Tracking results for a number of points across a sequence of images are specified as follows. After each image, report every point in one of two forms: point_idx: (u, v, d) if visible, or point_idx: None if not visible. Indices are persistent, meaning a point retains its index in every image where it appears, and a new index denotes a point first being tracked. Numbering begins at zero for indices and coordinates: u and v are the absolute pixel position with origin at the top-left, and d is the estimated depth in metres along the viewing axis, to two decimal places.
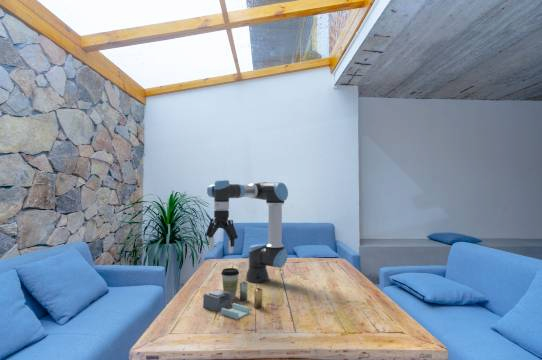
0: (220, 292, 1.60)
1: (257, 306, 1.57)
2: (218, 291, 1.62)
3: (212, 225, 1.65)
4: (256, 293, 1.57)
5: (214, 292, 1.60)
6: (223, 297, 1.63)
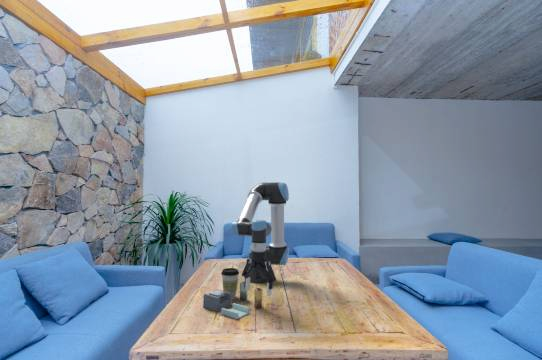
0: (220, 292, 1.60)
1: (257, 306, 1.57)
2: (218, 291, 1.62)
3: (248, 265, 1.63)
4: (256, 293, 1.57)
5: (214, 292, 1.60)
6: (223, 297, 1.63)
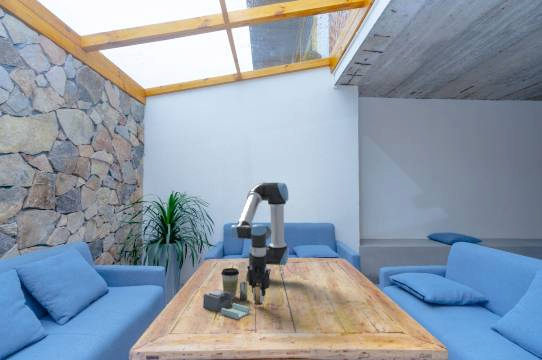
0: (220, 292, 1.60)
1: (257, 302, 1.58)
2: (218, 291, 1.62)
3: (251, 272, 1.62)
4: (256, 289, 1.58)
5: (214, 292, 1.60)
6: (223, 297, 1.63)
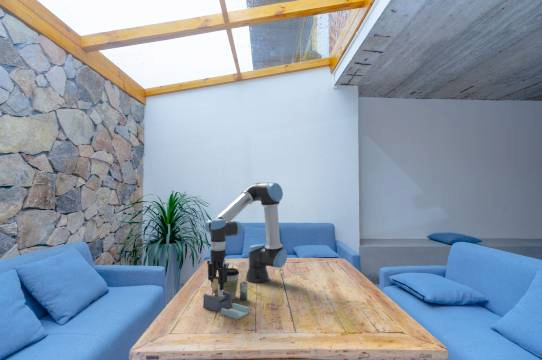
0: None
1: (215, 294, 1.58)
2: None
3: (211, 267, 1.63)
4: (214, 281, 1.59)
5: None
6: None
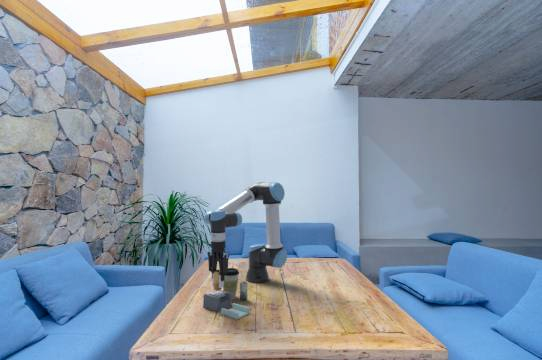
0: (220, 293, 1.60)
1: (216, 287, 1.58)
2: (218, 292, 1.62)
3: (211, 258, 1.64)
4: (215, 274, 1.59)
5: (214, 293, 1.60)
6: (223, 297, 1.63)
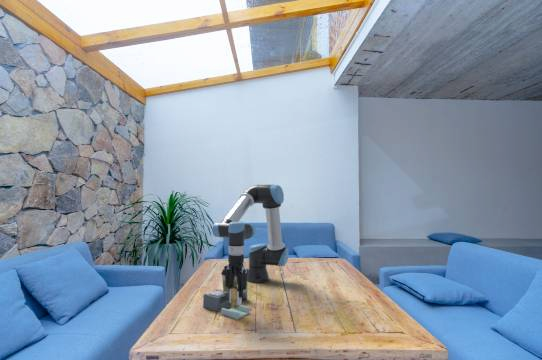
0: (220, 293, 1.60)
1: (233, 305, 1.48)
2: (218, 292, 1.62)
3: (228, 272, 1.54)
4: (232, 291, 1.49)
5: (214, 293, 1.60)
6: (223, 297, 1.63)
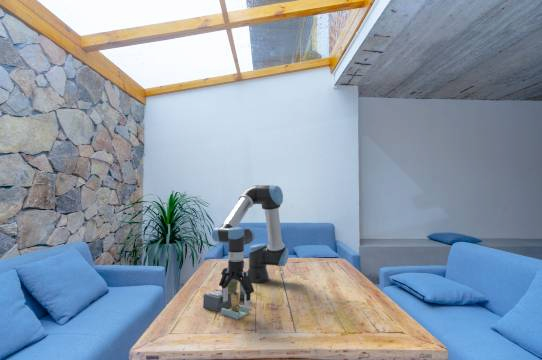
0: (220, 293, 1.60)
1: None
2: (218, 292, 1.62)
3: (226, 275, 1.55)
4: (232, 298, 1.49)
5: (214, 293, 1.60)
6: None
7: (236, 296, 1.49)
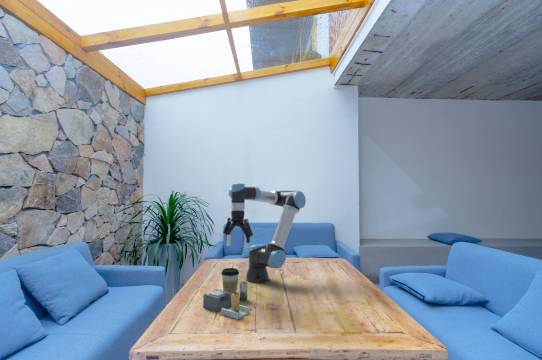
0: (220, 293, 1.60)
1: None
2: (218, 292, 1.62)
3: (229, 224, 1.84)
4: (232, 298, 1.49)
5: (214, 293, 1.60)
6: (223, 297, 1.63)
7: (236, 296, 1.49)
